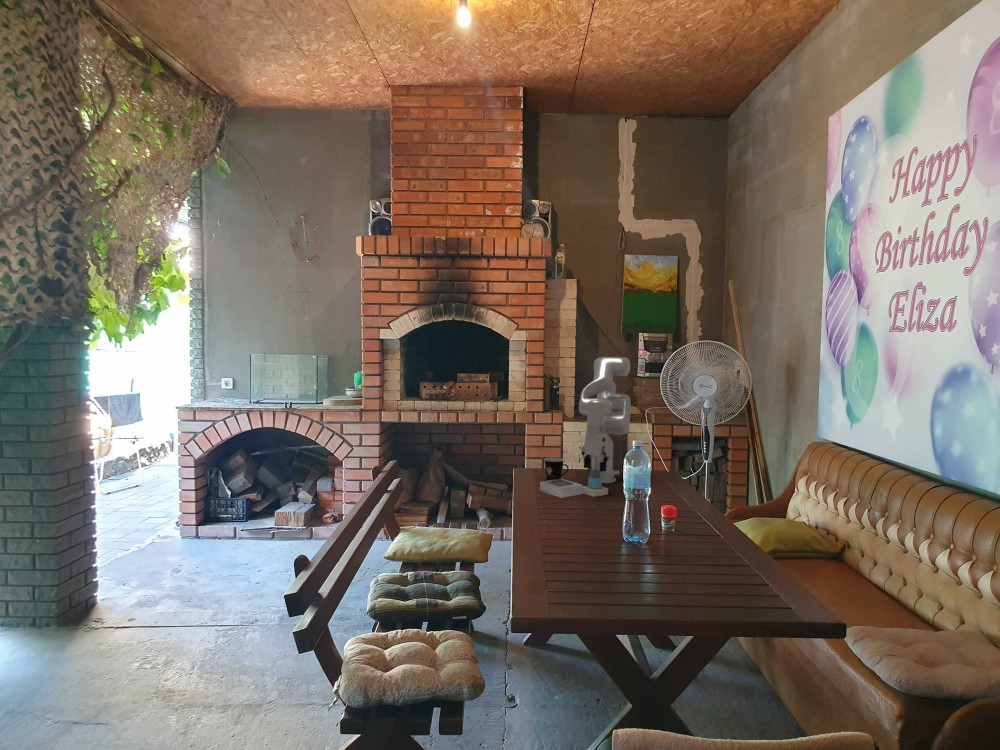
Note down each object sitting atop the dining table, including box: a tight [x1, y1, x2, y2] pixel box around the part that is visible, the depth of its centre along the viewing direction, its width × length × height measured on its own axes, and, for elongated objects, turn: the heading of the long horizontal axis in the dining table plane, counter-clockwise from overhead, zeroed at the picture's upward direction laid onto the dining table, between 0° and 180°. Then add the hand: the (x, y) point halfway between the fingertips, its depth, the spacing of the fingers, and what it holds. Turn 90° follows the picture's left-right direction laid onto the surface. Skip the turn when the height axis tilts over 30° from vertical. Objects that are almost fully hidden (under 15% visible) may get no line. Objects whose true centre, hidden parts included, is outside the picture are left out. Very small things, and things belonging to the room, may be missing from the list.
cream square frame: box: [582, 485, 609, 498], centre depth 272 cm, size 8×8×2 cm
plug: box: [587, 469, 603, 490], centre depth 272 cm, size 4×4×10 cm
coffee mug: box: [544, 457, 570, 481], centre depth 293 cm, size 12×9×10 cm
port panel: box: [539, 478, 584, 499], centre depth 273 cm, size 12×14×4 cm
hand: (594, 469), depth 271 cm, fingers open, 9 cm apart
